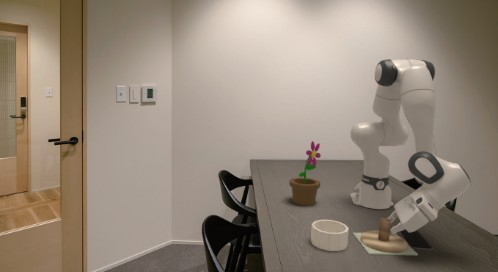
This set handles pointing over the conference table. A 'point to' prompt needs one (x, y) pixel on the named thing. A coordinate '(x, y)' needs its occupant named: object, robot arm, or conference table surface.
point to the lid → (384, 239)
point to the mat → (375, 252)
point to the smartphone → (415, 240)
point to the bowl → (329, 235)
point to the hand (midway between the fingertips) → (389, 226)
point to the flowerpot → (306, 181)
